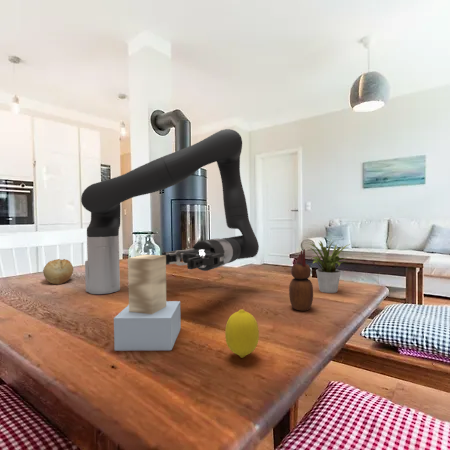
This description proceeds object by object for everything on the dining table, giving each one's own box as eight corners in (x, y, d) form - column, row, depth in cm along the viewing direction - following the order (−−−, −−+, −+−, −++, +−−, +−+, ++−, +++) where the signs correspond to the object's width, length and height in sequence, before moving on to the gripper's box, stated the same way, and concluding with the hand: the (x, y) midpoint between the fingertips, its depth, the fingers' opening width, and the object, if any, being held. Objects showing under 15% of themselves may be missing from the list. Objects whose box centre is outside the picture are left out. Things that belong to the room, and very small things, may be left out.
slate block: (114, 351, 53) (113, 318, 53) (132, 330, 63) (132, 301, 63) (171, 351, 53) (170, 317, 52) (180, 329, 63) (180, 301, 62)
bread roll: (70, 276, 119) (70, 256, 118) (76, 283, 106) (75, 260, 106) (42, 279, 113) (41, 258, 113) (44, 287, 101) (44, 263, 101)
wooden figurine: (314, 313, 71) (314, 250, 70) (289, 312, 72) (289, 249, 72) (311, 305, 78) (312, 247, 77) (289, 304, 79) (288, 246, 78)
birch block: (128, 311, 56) (128, 258, 56) (144, 303, 61) (143, 254, 60) (152, 314, 54) (151, 259, 54) (166, 306, 59) (165, 255, 59)
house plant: (291, 290, 92) (291, 237, 91) (312, 283, 102) (312, 234, 101) (337, 299, 82) (337, 240, 82) (355, 289, 92) (356, 236, 92)
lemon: (224, 350, 52) (223, 305, 52) (255, 349, 53) (255, 303, 52) (226, 366, 47) (226, 315, 46) (262, 364, 47) (261, 314, 47)
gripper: (190, 238, 81) (147, 243, 67) (237, 240, 74) (200, 246, 60) (190, 265, 81) (147, 277, 67) (237, 270, 74) (200, 284, 60)
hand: (172, 262), depth 64 cm, fingers open, 8 cm apart
